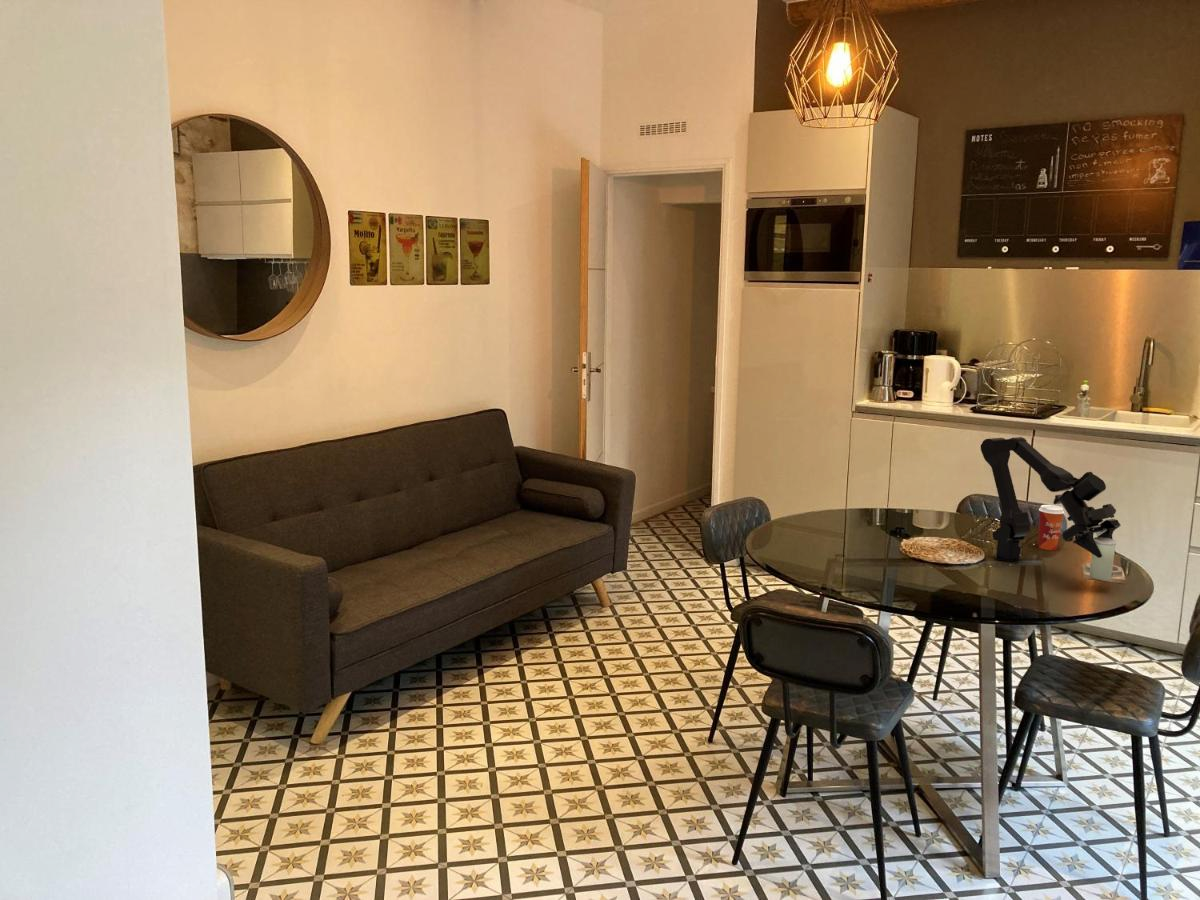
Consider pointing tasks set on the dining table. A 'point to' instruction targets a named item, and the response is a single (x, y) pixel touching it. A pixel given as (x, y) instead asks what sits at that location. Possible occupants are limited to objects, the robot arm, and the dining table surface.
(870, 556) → the dining table surface
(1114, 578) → the seat board
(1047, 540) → the paper cup
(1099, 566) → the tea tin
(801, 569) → the dining table surface
